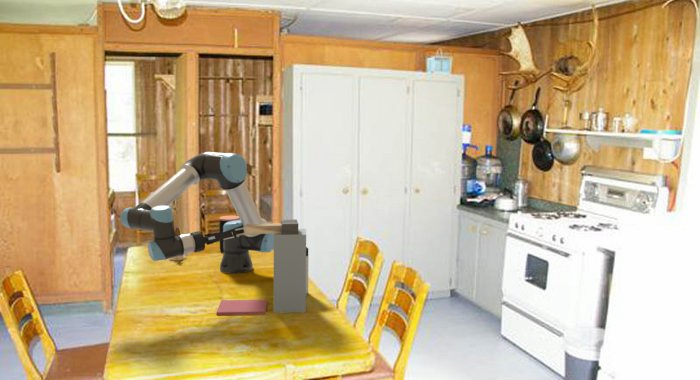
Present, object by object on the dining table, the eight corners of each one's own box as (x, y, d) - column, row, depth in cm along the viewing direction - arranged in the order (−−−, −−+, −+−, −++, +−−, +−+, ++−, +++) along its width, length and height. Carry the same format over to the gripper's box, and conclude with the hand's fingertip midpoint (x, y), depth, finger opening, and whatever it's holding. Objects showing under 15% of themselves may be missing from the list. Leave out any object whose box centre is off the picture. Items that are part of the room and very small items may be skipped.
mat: (221, 302, 225) (221, 300, 225) (267, 302, 227) (267, 299, 227) (216, 314, 213) (216, 312, 212) (265, 314, 214) (265, 311, 214)
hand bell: (173, 256, 291) (172, 225, 289) (189, 257, 290) (188, 226, 287) (166, 260, 283) (165, 228, 280) (182, 261, 282) (181, 229, 279)
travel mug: (301, 290, 242) (301, 244, 239) (311, 294, 237) (311, 247, 234) (289, 293, 238) (289, 246, 235) (299, 297, 233) (299, 249, 230)
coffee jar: (216, 252, 299) (215, 218, 296) (224, 247, 309) (223, 214, 306) (236, 253, 297) (235, 219, 294) (243, 248, 308) (242, 215, 305)
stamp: (246, 230, 217) (246, 220, 217) (296, 229, 221) (296, 219, 220) (246, 235, 209) (246, 224, 209) (298, 234, 213) (298, 223, 212)
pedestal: (274, 303, 226) (274, 228, 221) (305, 302, 227) (305, 228, 222) (273, 312, 216) (273, 234, 211) (305, 312, 217) (306, 234, 212)
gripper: (184, 255, 225) (235, 243, 236) (204, 250, 204) (258, 237, 215) (180, 236, 225) (231, 225, 237) (199, 229, 204) (254, 218, 216)
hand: (244, 231), depth 226 cm, fingers open, 13 cm apart
